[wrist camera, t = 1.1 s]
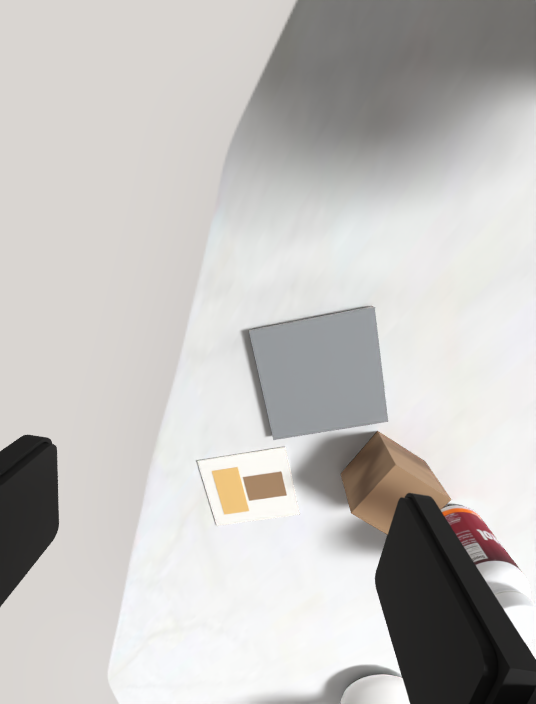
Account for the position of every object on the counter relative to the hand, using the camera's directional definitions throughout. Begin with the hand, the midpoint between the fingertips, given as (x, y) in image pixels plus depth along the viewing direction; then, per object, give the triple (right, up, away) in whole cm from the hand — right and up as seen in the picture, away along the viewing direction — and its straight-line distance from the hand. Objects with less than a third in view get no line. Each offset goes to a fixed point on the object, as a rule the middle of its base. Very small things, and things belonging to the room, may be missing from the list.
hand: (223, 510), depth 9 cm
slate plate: (+6, +2, +25) cm, 26 cm away
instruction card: (-1, -11, +29) cm, 31 cm away
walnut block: (+14, -8, +28) cm, 32 cm away
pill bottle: (+22, -16, +30) cm, 40 cm away
